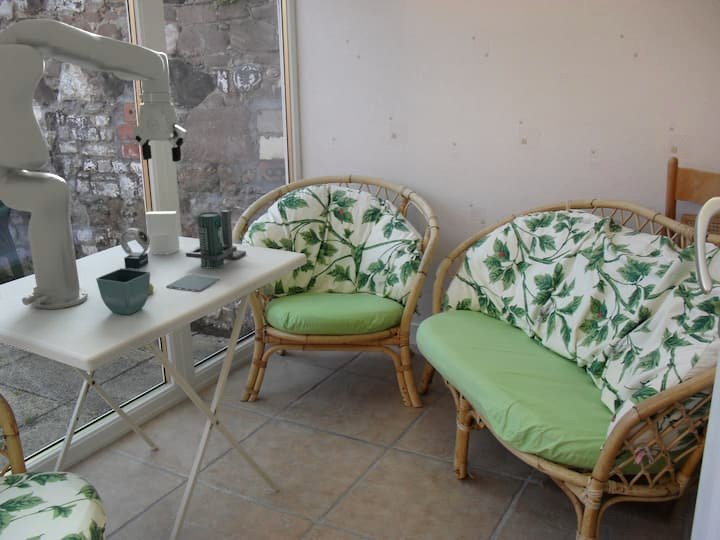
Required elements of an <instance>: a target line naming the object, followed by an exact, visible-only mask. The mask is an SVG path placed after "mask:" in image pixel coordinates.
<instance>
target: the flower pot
mask: <svg viewBox="0 0 720 540" xmlns="http://www.w3.org/2000/svg"><path fill="white" fill-rule="evenodd" d="M95 280H96V283H97V287H98V289H99V290H98V291H99V294H100V298H101V299H102V302H103V303H104V305H105V306H106V307H107V308H108V310H109V311H111V312H112V313H115V314H120V315H127V316H129V315H131V314H133V313H135V312H137V311H140V310H142V309H143V308H144V306H145V304H146V303H147V300H148V298H149V295H148V294H149V286H150V283H151V282H150V280H151V272H150V271H143V270H139V269H129V268H119V269H116V270H113V271H111V272H109V273H105V274H104V275H101V276H98V277H97V278H96V279H95Z"/></svg>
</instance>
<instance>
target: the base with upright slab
mask: <svg viewBox="0 0 720 540" xmlns="http://www.w3.org/2000/svg"><path fill="white" fill-rule="evenodd" d="M145 218H146V219H145V220H146V227H147V235H148V237H149V240H150V242H149V248H148V251H149V253H150V252H151V253H150V254H152V253H156V254H155V255H167V254H166V253H171V254H174V253H173V252H175V253H177V252H179V251H180V250H179V249H180V239H179V238H180V237H179V227H178V216H177V211H176V210H175V211H147V212H146V213H145ZM178 250H179V251H178ZM176 251H177V252H176Z"/></svg>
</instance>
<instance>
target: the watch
mask: <svg viewBox="0 0 720 540" xmlns="http://www.w3.org/2000/svg"><path fill="white" fill-rule="evenodd" d="M127 232H131V233H132V234H133V236H134V240H135V241H136V243H138V244H139V245H140V247H142V249H143V251H142V252H134V251H133V250H132V249H131V247H130V246H129V244H128V242H127V240H126V238H125V236H126V234H127ZM119 241H120V242H119V244H120V245H121V247H122V249H123V251H124V252H125V254H127V256H125V257H124V258H123V259H124V267H125V268H124V269H129V268H134V269H133V270H140V269H142V268H143V267H145V266H146V264H147V263H148V264H149V256H148V255H149V254H148V252H147V251H149V242H150V240H149V237H148V233H147V232H146V231H145V230H144V229H140V228H137V227H130V228H127V229H126V230H124V231H122V232H121V235H120V237H119ZM148 264H147V265H148Z"/></svg>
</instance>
